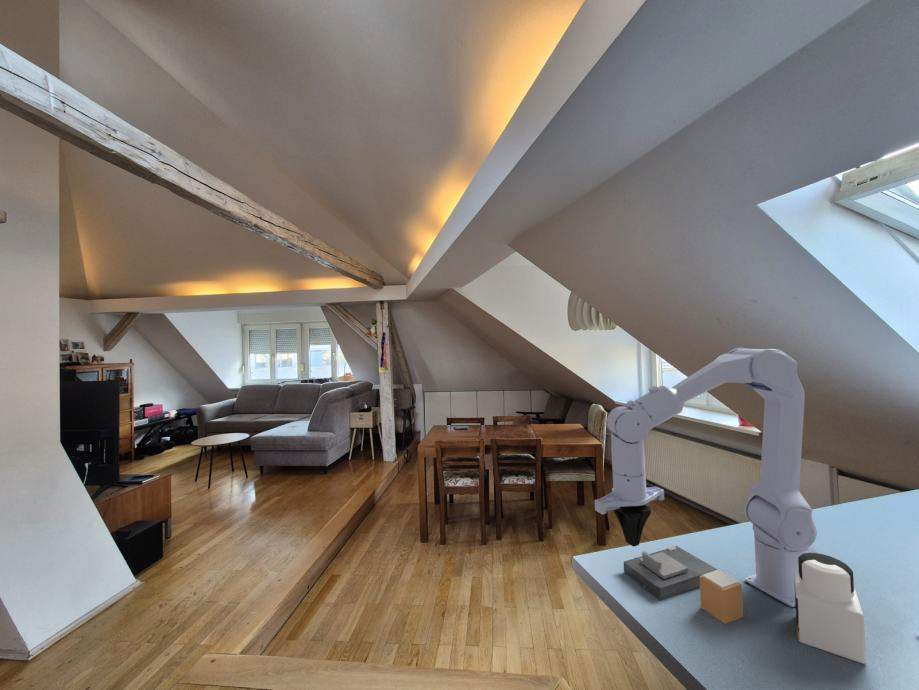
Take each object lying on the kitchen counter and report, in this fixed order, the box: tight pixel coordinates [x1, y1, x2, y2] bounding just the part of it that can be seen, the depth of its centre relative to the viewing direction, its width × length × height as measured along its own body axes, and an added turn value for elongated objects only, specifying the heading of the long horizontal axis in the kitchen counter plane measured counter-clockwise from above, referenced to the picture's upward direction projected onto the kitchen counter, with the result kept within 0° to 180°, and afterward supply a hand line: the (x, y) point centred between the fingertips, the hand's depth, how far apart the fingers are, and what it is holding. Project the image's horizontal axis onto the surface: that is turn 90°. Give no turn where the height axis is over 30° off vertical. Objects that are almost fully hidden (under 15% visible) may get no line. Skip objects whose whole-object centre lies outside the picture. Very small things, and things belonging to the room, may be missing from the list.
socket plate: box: [623, 545, 718, 601], centre depth 75 cm, size 14×9×2 cm, turn 108°
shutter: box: [639, 550, 688, 579], centre depth 74 cm, size 6×6×2 cm
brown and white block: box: [699, 569, 744, 625], centre depth 65 cm, size 4×4×6 cm
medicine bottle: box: [794, 552, 867, 665], centre depth 58 cm, size 7×7×12 cm
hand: (632, 543), depth 72 cm, fingers closed
